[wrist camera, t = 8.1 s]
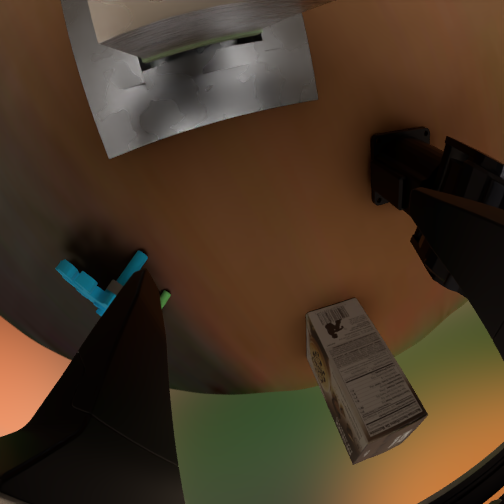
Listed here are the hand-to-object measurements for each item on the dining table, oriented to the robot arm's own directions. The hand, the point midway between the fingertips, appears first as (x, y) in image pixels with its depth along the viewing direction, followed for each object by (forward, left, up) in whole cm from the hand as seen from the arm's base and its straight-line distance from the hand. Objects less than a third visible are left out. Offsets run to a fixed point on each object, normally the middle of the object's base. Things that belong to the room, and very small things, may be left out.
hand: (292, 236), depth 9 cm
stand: (+1, -9, -13) cm, 16 cm away
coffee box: (-6, +24, -13) cm, 28 cm away
